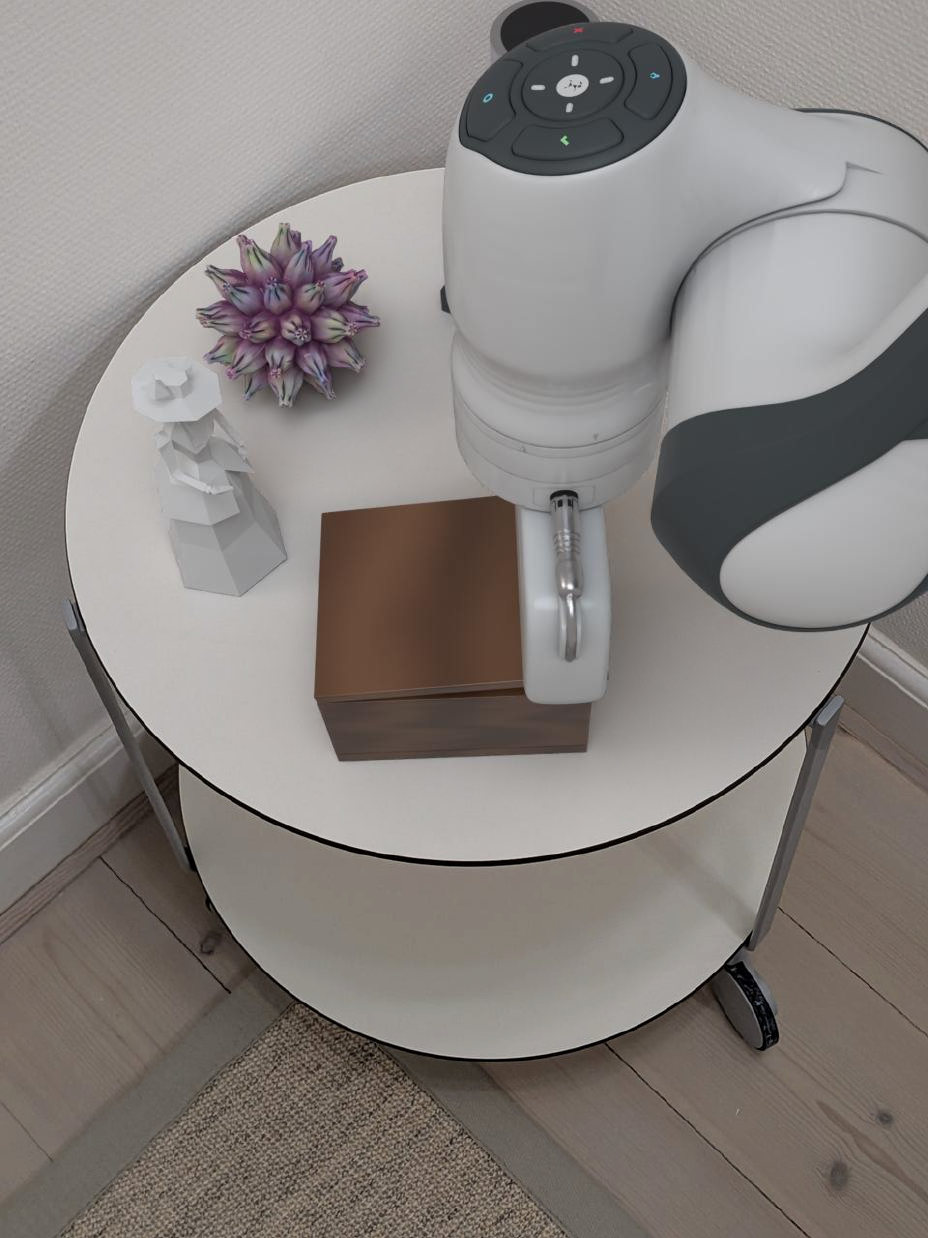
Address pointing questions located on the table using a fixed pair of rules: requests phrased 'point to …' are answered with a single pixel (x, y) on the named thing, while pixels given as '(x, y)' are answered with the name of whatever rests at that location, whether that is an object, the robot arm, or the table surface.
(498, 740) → the chest
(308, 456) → the table surface
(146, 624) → the table surface
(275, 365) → the flower
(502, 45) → the flask
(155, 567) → the table surface
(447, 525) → the lid
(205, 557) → the figurine
